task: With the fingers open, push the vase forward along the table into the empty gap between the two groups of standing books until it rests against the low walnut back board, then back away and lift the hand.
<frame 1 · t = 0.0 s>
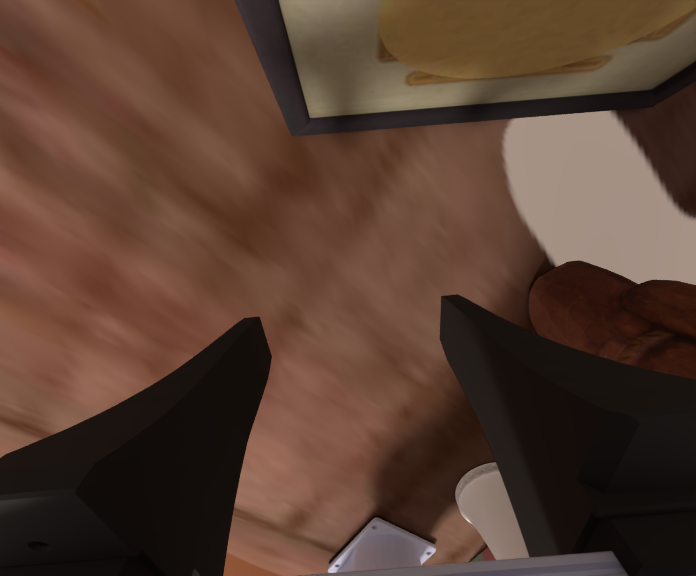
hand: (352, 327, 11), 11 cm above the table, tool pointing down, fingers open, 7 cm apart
picture frame: (469, 43, 17), on the table
vase: (491, 488, 28), on the table
wooden figurine: (568, 323, 23), on the table
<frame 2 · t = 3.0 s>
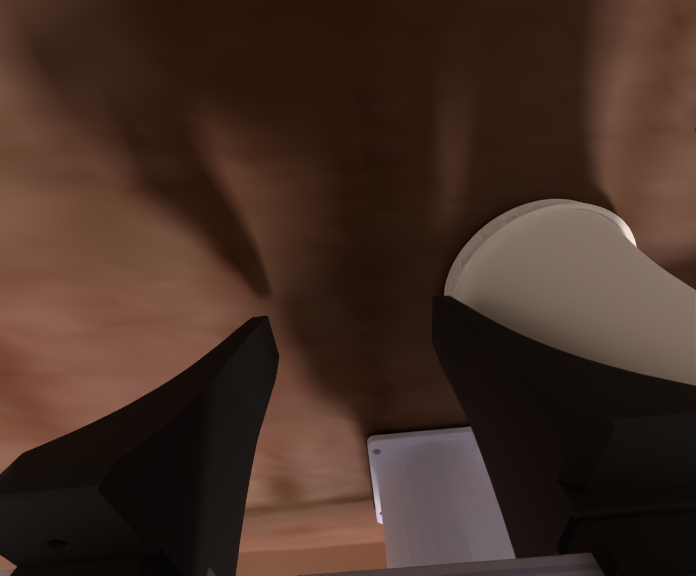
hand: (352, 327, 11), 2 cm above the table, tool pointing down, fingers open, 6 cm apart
vase: (524, 283, 13), on the table, touching gripper
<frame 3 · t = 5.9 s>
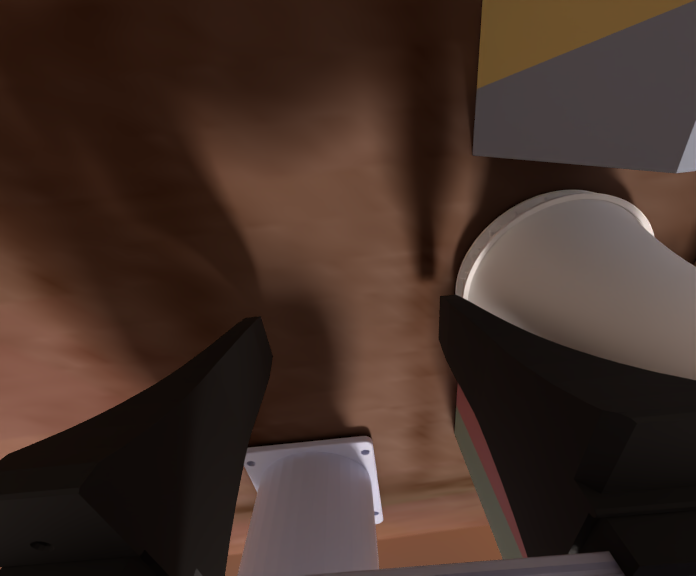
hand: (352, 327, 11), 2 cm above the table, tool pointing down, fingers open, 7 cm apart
vase: (537, 276, 13), on the table, touching gripper
book row: (577, 275, 13), on the table
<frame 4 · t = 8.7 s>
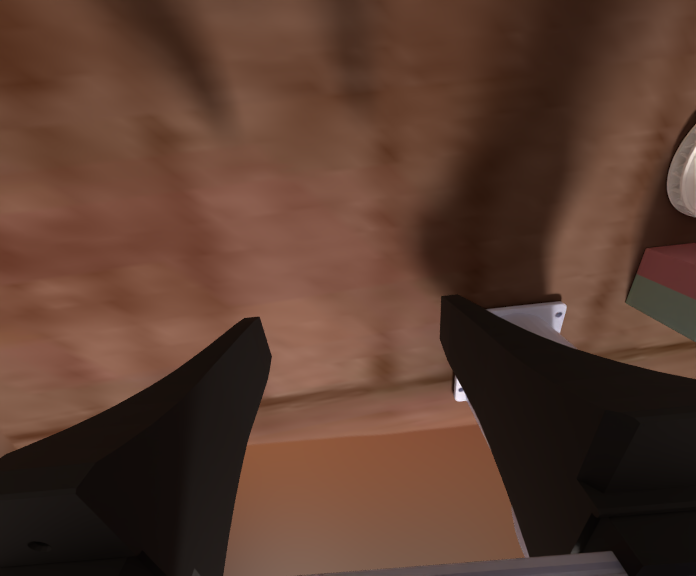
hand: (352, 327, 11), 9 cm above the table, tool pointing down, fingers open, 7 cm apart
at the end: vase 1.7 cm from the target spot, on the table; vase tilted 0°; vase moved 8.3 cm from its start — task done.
